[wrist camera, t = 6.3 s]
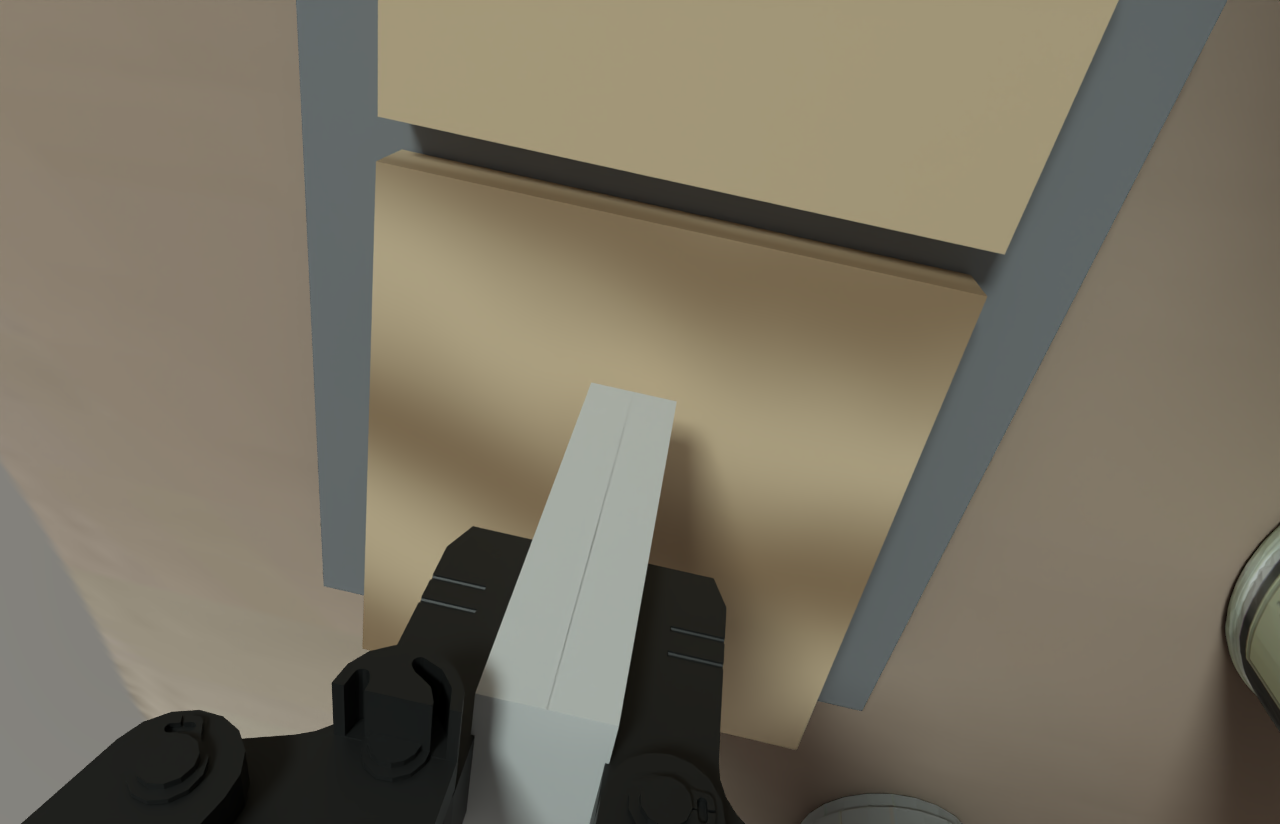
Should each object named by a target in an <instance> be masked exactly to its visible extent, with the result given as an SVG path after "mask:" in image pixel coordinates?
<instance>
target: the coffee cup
mask: <svg viewBox="0 0 1280 824" xmlns="http://www.w3.org/2000/svg"><path fill="white" fill-rule="evenodd" d="M801 824H962V823H961V822H960V821H959V820H958V819H957V818H956V817H955V816H954V815H952V814H951V813H949V812H947V811H946V810H944V809H942V808H941V807H939V806H937V805H934V804H931V803H929V802H926V801H923V800H920V799H917V798H913V797H907V796H901V795H895V794H862V795H856V796H849V797H843V798H840V799H838V800H835V801H832V802H829V803H826V804H824V805H822V806H821V807H819V808H817V809H816V810H814V811H813V812H811V813H810V814H808V816H807V817H806V818H805V819H804V820H803V822H802V823H801Z"/></svg>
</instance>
